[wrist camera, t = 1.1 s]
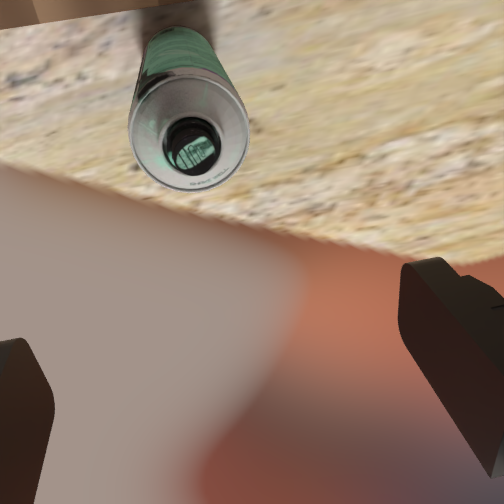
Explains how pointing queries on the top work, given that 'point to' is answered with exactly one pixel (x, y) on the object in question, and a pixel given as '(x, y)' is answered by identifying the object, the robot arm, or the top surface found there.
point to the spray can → (186, 114)
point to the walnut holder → (65, 9)
